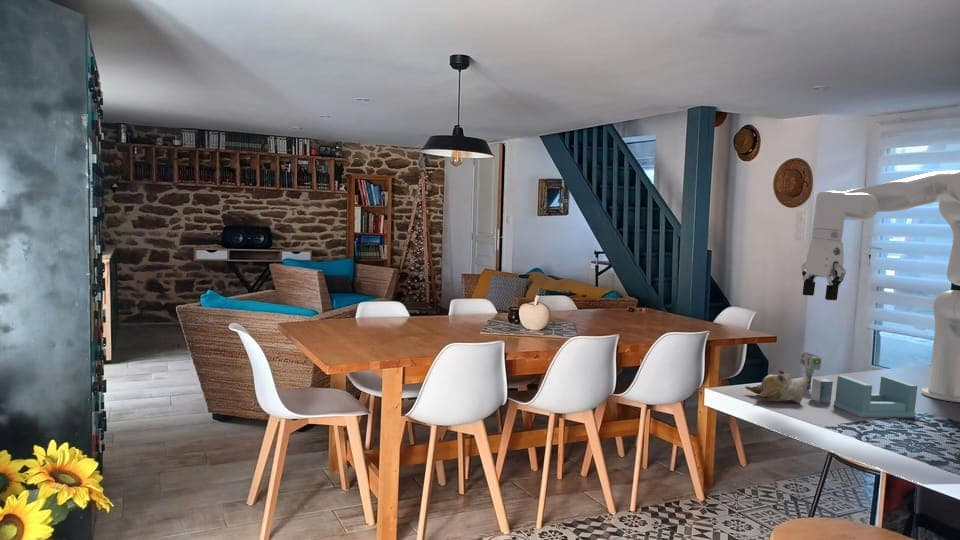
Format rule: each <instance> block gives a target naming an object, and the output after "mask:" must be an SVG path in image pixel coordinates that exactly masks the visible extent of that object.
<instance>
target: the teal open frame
mask: <svg viewBox="0 0 960 540" xmlns="http://www.w3.org/2000/svg"><path fill="white" fill-rule="evenodd" d="M836 379H837V381H836V389H835V390H836V391H835V400H834V401H833V406H834V407H836V408H837V407H838V408H839V409H841V410H844V411H846V412H849V414H850V413H851V414H853V415H855V416H858V417H860V418H861V417H862V418H863V417H864V418H872V417H873V418H874V417H875V418H915V417H916V414H917V413H916V411H915V410H916V405H917V404H916V403H917V395H918V385H915V384H913V383H909V382H906V381H904V380H901V379H897V378H894V377H891V376H886V375H885V376H884V375H882V376H881V375H880V383H879V393H872V392H873V384H872V385H871V384H869V383H866V382H864V381H860V380H859V379H855V378H852V377H849V376H847V375H837V378H836Z"/></svg>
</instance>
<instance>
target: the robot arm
mask: <svg viewBox="0 0 960 540" xmlns="http://www.w3.org/2000/svg"><path fill="white" fill-rule="evenodd" d="M933 203H938V210H939V211H938V212H939V213H940V215H941V216H942V217H943V219H944V220H945V221H946V222H947V223H948V225H949V227H950V229H951V231H952V245H951V250H950V256H949V259H948V264H947V271H946V276H947V279H948V281H949V282H950V283H951V284H953V285H956V286H960V170H941V171H940V170H939V171H931V172H927V173H926V172H925V173H923V174H922V173H921V174H919V175H914V176H910V177H905V178H902V179H897V180H893V181H887V182H883V183H880V184H874V185H869V186H863V187H859V188H855V189H849V190H846V191H836V190H823V191H819V192H818V193H817V195H816V198H815V204H814V205H815V207H814V214H813V215H814V216H813V223H812V228H811V229H812V230H811V238H810V242H809V247H808V250H807V255H806V256H807V257H806V261H805V262H804V263H802V264H801V266H800V267H801V275H802V281H803V285H802V286H803V287H802V295H803V296H809V297H810V296H811V297H812V296H814V295H815V288H816V281H815V279H816V278H817V277H820V278H826V281H827V283H828V284H826V289H825V296H824V299H825V300H827V301H837V300H838V295H839V287H841V283H842V282H843V281H844V277H845V275H846V273H847V270H846V269H845V268H844V257H845V256H844V255H845V254H844V250H845V249H844V243H843V233H844V225H845V220H846V221H866V220H869V219H872V218H874V217H875V215H876V214H877V213H878V212H880V213H882V212H886V213H887V212H889V213H890V212H899V211H906V210H909V209H914V208H916V207H921V206H925V205H929V204H933ZM933 316H934V333H933V334H934V336H933V343H932V352H931V353H932V354H931V363H930V371H929V376H928V377H929V379H928V386H927V387H923V388H921V391H920V392H921V394H922V395H924V396H927V397H928V398H932V399H937V400H939V401H940V400H941V401H947V402H952V403H960V290H957V289H956V290H955V289H954V290H953V289H951V290H945V291H942V292H940V293H939V294H938V295H937V296H936V298H935V299H934V302H933Z"/></svg>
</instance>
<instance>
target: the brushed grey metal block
mask: <svg viewBox="0 0 960 540" xmlns="http://www.w3.org/2000/svg"><path fill="white" fill-rule="evenodd" d="M833 384H834V381H832V380H830V379H827V378H821V377H820V378H815V377H813V378H812V381H811V392H810V393H811V394H810V395H811V396H810V400H811V399H812V400H811V401H813V400H814V401H813V402H816V403H818V402H819V403H818V404H831V401H832V394H833Z"/></svg>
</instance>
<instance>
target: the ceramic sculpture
mask: <svg viewBox="0 0 960 540" xmlns="http://www.w3.org/2000/svg"><path fill="white" fill-rule="evenodd" d="M808 380H809V379H808V377H806V376H804V377H798V378H797V377H796V378H792V377H791V375H790V374H789V373H787V372H785V371H783V370H779V371H778V374H768V375H766V376H765V377H764V378H763V379H762V380H761V384H758V385H756V386H752V387H750V386H747V385H746V386H745V387H744V388H745V389H746V390H747V391H750V392H752V393H754V394H756V395H755V396H756V398H758V399H761V400H762V401H766V402H784V401H788V400H790V401H792V402H794V403H795V404H800V403H801V402H802V401H803V398H804V395H805V394H806V391H807V381H808Z"/></svg>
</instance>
